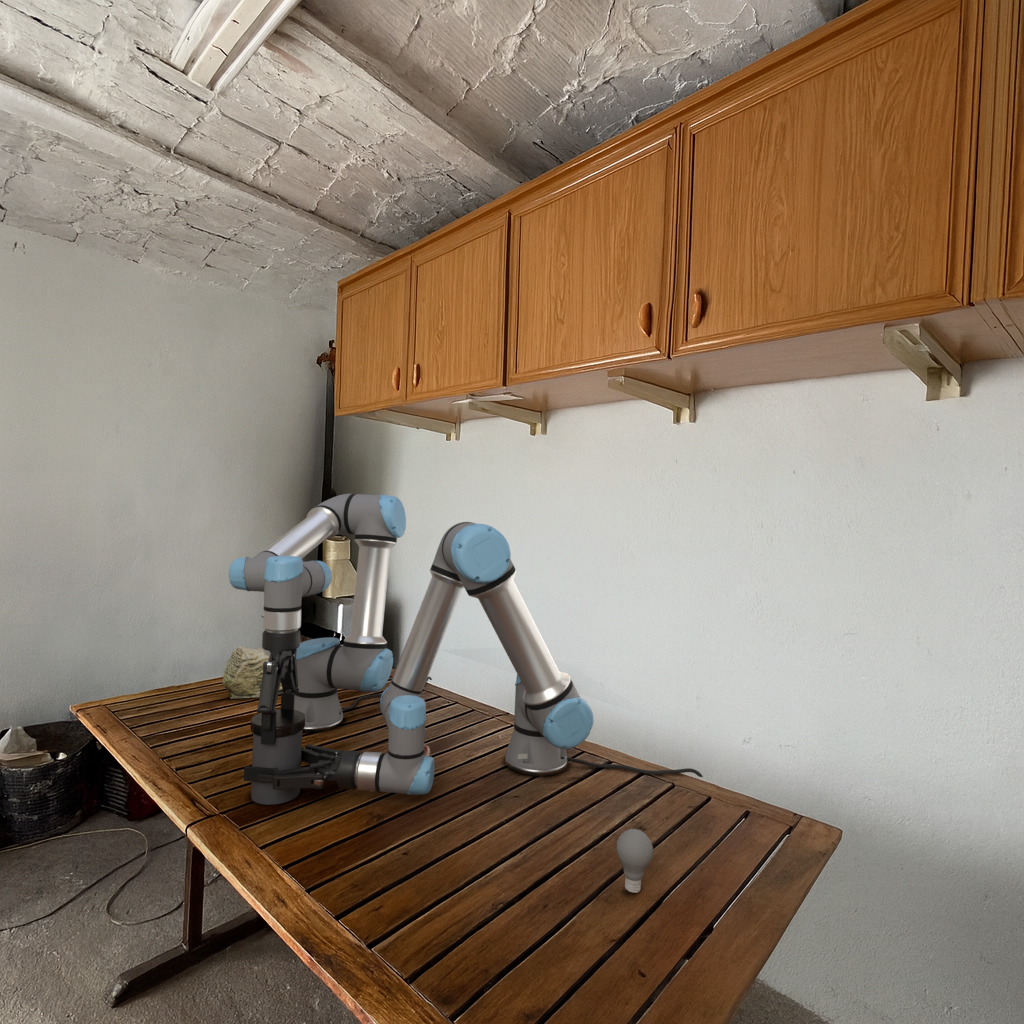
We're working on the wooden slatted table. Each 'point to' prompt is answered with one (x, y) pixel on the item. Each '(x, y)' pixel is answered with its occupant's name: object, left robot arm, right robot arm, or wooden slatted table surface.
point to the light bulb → (634, 857)
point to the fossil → (245, 672)
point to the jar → (272, 756)
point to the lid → (281, 722)
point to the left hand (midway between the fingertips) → (277, 733)
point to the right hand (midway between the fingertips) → (257, 762)
